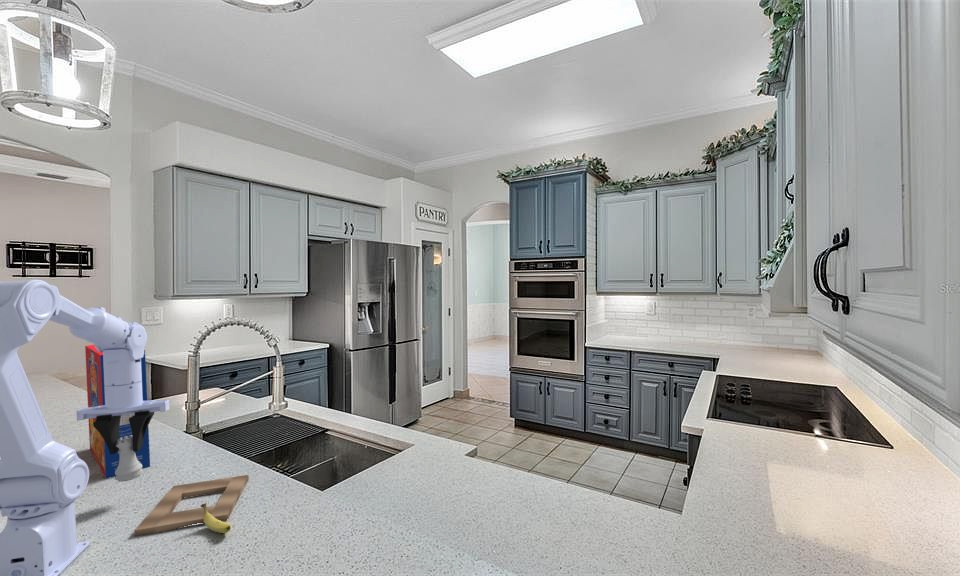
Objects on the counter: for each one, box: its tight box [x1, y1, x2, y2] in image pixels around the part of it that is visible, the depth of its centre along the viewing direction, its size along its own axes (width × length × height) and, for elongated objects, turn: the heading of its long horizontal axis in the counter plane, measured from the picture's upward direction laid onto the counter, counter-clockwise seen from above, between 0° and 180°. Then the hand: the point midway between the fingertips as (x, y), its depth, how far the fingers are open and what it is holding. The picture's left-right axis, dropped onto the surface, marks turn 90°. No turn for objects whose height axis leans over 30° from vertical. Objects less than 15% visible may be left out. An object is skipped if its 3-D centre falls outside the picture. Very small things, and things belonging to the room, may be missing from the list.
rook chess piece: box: [114, 435, 144, 483], centre depth 85 cm, size 4×4×8 cm
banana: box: [199, 502, 232, 534], centre depth 73 cm, size 8×2×4 cm, turn 61°
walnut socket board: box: [134, 474, 250, 537], centre depth 83 cm, size 17×14×1 cm
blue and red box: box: [84, 344, 151, 480], centre depth 108 cm, size 28×8×28 cm, turn 48°
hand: (126, 451), depth 85 cm, fingers closed on rook chess piece, 3 cm apart
